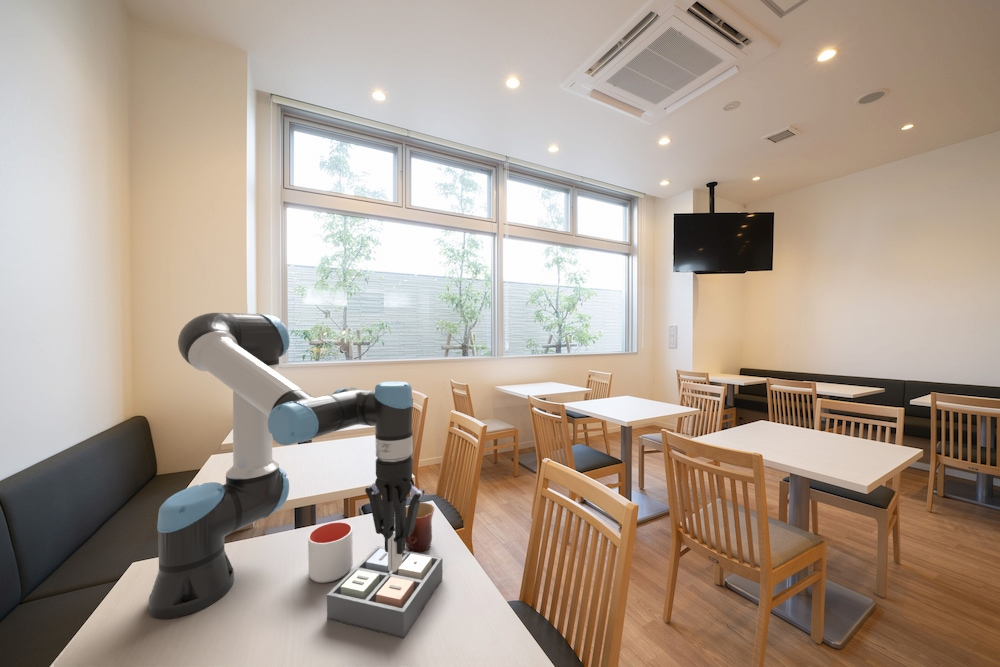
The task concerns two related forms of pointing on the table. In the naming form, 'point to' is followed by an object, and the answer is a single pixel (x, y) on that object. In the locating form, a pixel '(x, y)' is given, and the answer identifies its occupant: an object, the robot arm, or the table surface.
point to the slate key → (378, 561)
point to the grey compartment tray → (380, 614)
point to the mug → (421, 529)
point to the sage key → (360, 584)
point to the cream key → (415, 567)
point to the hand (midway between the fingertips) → (395, 566)
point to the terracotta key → (395, 592)
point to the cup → (330, 552)
